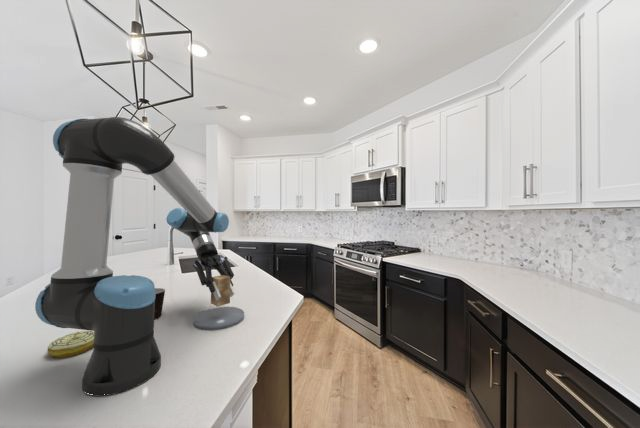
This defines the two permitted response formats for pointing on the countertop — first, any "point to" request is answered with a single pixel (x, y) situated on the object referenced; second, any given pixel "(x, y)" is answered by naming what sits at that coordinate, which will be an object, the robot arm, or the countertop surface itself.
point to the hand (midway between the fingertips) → (225, 296)
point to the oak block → (221, 290)
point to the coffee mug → (159, 302)
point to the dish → (218, 318)
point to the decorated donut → (71, 344)
